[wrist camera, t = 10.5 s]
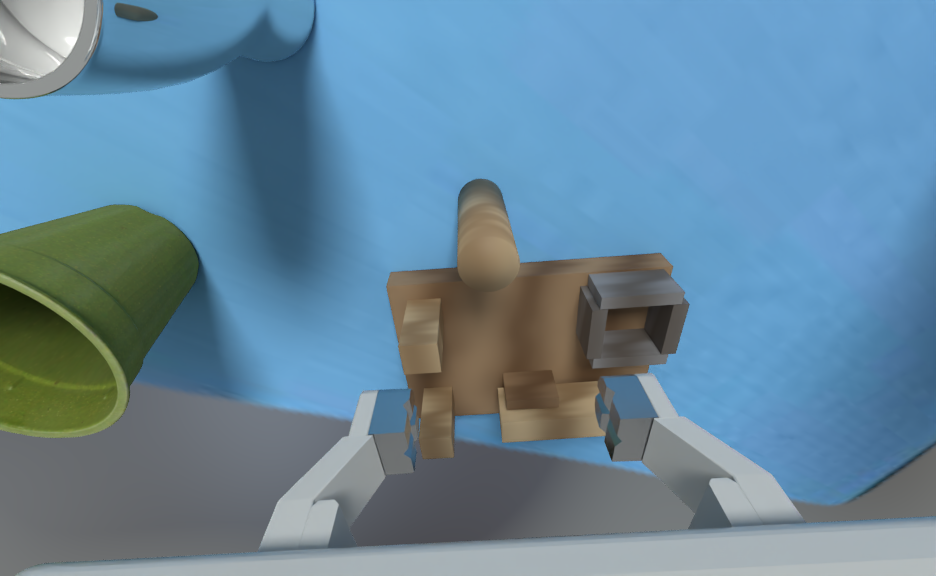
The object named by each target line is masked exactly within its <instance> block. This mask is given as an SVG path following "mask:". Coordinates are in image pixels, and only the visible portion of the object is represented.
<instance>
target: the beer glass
mask: <svg viewBox="0 0 936 576" xmlns="http://www.w3.org/2000/svg"><path fill="white" fill-rule="evenodd" d="M314 13H315V4H314V0H0V98H3V99H30V98H36V97H41V96H71V95H103V94H121V93H131V92H141V91H150V90H156V89H161V88H165V87H170V86H175V85H179V84H184V83H187V82H190V81H193V80H195V79H197V78H200V77H202V76H205V75H207V74H209V73H212V72H214V71H216V70H218V69H219V68H221V67H223V66H225V65H226V64H228V63H230V62H232V61H233V60H235V59H236V58H238V57H240V56H243V57H246V58H249V59H253V60H257V61H263V62H274V61H280V60H283V59H286V58H288V57H290V56H292V55H293V54H295V53H296V52H297V51H298V50H299V49H300V48H301V47H302V46H303V45H304V44H305V42H306V41H307V39H308V37H309V35H310V32H311V29H312V26H313V21H314Z"/></svg>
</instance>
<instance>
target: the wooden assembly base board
mask: <svg viewBox="0 0 936 576" xmlns="http://www.w3.org/2000/svg"><path fill="white" fill-rule="evenodd" d="M672 269H673V266H672V265H671V264H670V263H669V262H668V260H667V259H666V258H665V257H664V256H663V255H662V254H661V253H655V254H641V255H627V256H613V257H599V258H585V259H571V260H557V261H543V262H529V263H520V268H519V272H518V274H517V276H516V278H515V279H514V280H513V281H512V283H510V284H509V285H508V286H506V287H505V288H503V289H501V290H498V291H494V292H481V291H477V290H474V289H472V288H471V287H469V286H468V285H466V284H465V283H464V282H463V280H462V279H461V277H460V275H459V273H458V268H444V269H430V270H416V271H402V272H391V273H390V276H389V279H388V283H387V286H386V287H387V292H388V297H389V301H390V306H391V310H392V315H393V320H394V324H395V329H396V333H397V338H398V342H399V345H398V348H399V352H400V357H401V361H402V366H403V370H404V375H406V379H407V384H408V388H409V389H413V391H414V395H415V401H414V405H415V406H416V407H417V410H418V417H419V418H421V422H420V432H419V443H420V448H421V452H422V457H423V459H436V458H453V457H454V430H455V416H461V415H477V414H493V413H499V404H498V388H504V392H505V400H506V408H507V410H519V409H535V408H551V407H559V395H558V391H557V388H556V384H562V383H576V382H591V381H598V379H599V377H600V376H614V375H627V374H633V375H634V374H643V373H648V368H649V365H656V364H666V361H667V357H668V354H674V353H676V350H677V347H678V343H679V340H680V336H681V332H682V329H683V325H684V322H685V318H686V315H687V311H688V308H689V303H688V302H687V301H686V300H685V298H684V294H685V292H684V291H683V290H682V288H681V287H680V286H679V285H678V284H677V283H676V282H675V281H674V280H673V278H672V277H671V273H672Z"/></svg>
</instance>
